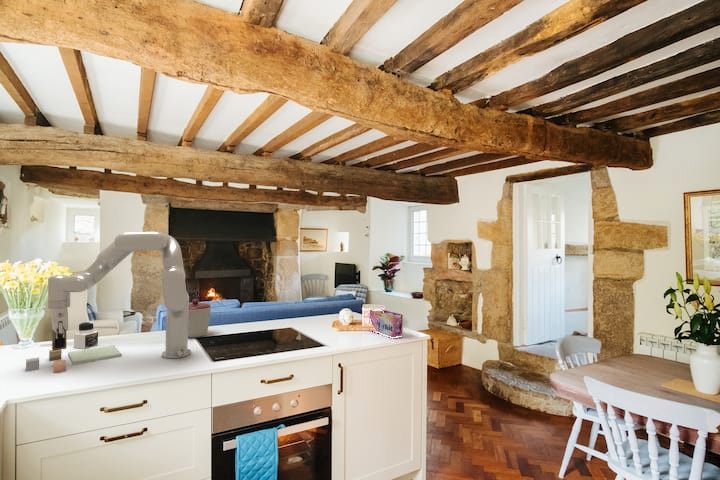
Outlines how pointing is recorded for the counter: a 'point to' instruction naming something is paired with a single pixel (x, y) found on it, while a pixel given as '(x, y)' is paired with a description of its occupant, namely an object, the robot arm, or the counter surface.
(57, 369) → the terracotta cylinder
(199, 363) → the counter surface
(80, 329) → the medicine bottle
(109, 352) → the sage board
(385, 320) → the gum box
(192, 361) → the counter surface
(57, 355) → the oak cube
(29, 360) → the stone cube
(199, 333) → the canister
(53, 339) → the walnut block
